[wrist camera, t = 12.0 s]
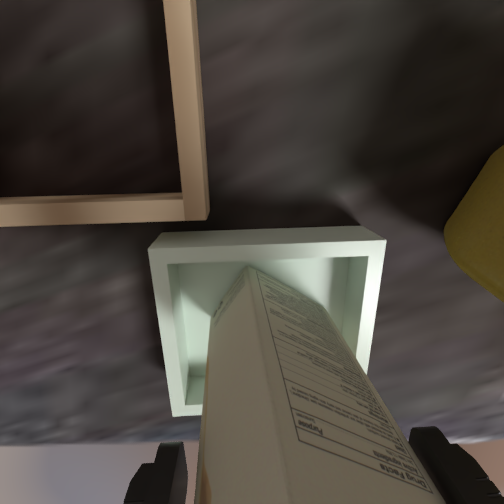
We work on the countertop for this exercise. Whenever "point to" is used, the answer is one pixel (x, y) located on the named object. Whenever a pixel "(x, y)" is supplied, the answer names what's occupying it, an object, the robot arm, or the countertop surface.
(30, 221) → the frame
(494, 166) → the flower pot
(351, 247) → the parts tray
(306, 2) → the countertop surface
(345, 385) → the skincare box
